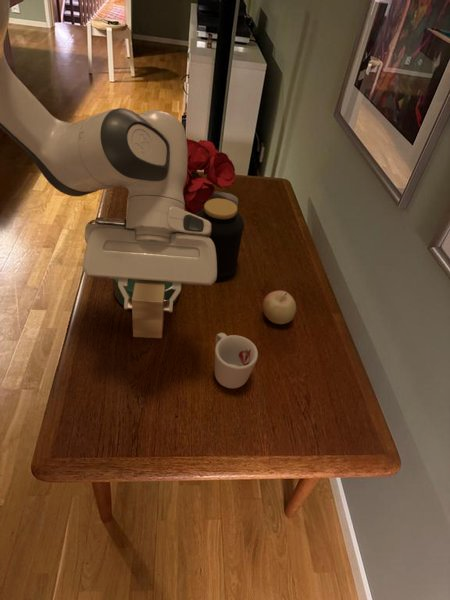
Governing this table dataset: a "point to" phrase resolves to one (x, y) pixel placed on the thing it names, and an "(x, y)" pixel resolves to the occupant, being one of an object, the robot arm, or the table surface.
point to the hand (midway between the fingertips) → (148, 310)
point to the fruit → (279, 307)
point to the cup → (234, 360)
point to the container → (224, 233)
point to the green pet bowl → (130, 290)
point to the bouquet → (217, 173)
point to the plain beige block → (148, 309)
